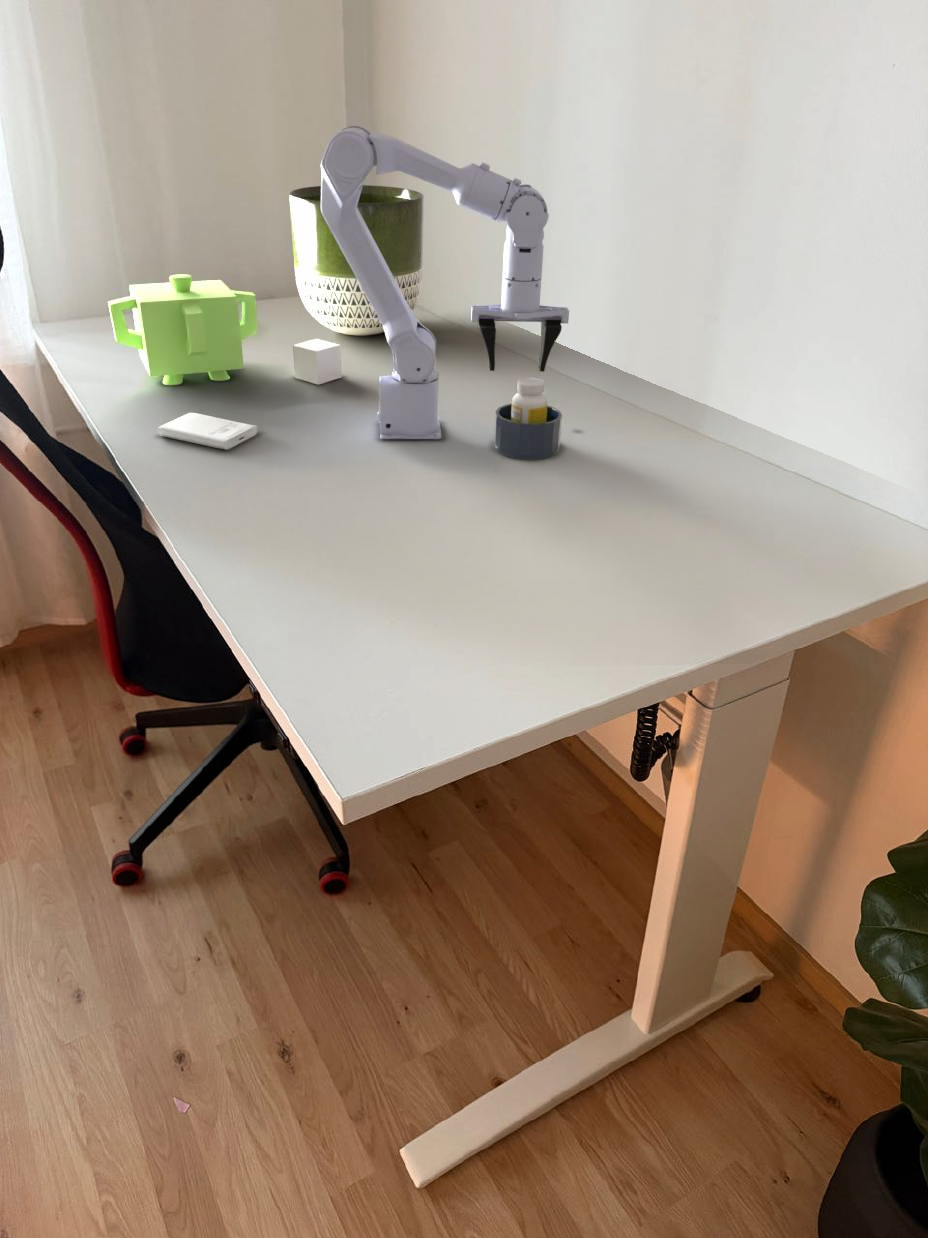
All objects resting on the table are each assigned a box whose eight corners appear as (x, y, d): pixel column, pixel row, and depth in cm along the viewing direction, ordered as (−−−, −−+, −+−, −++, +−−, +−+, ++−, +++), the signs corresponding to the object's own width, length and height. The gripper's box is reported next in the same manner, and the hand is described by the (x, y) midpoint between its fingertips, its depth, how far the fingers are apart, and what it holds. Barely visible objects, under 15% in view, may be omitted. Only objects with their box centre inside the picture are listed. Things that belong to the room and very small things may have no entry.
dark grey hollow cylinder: (497, 459, 141) (499, 424, 138) (491, 435, 150) (492, 402, 147) (563, 459, 142) (566, 424, 139) (553, 435, 151) (556, 402, 148)
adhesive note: (318, 370, 177) (316, 338, 174) (341, 377, 174) (340, 344, 171) (294, 377, 173) (292, 344, 170) (318, 384, 170) (316, 351, 167)
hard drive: (193, 421, 152) (257, 434, 148) (159, 437, 146) (225, 451, 141) (192, 411, 151) (257, 424, 147) (157, 426, 145) (224, 440, 140)
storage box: (129, 399, 160) (112, 294, 151) (114, 362, 178) (98, 266, 169) (274, 384, 169) (267, 285, 160) (246, 351, 186) (238, 259, 178)
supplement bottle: (548, 440, 147) (553, 378, 142) (539, 452, 143) (544, 388, 138) (515, 435, 149) (518, 373, 143) (505, 447, 144) (508, 384, 139)
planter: (419, 350, 191) (420, 205, 176) (287, 345, 190) (277, 200, 176) (426, 317, 213) (426, 186, 199) (308, 313, 213) (300, 182, 199)
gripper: (474, 282, 135) (471, 376, 142) (575, 284, 136) (567, 377, 143) (471, 272, 141) (468, 362, 148) (567, 273, 142) (560, 363, 149)
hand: (516, 369), depth 146 cm, fingers open, 7 cm apart
